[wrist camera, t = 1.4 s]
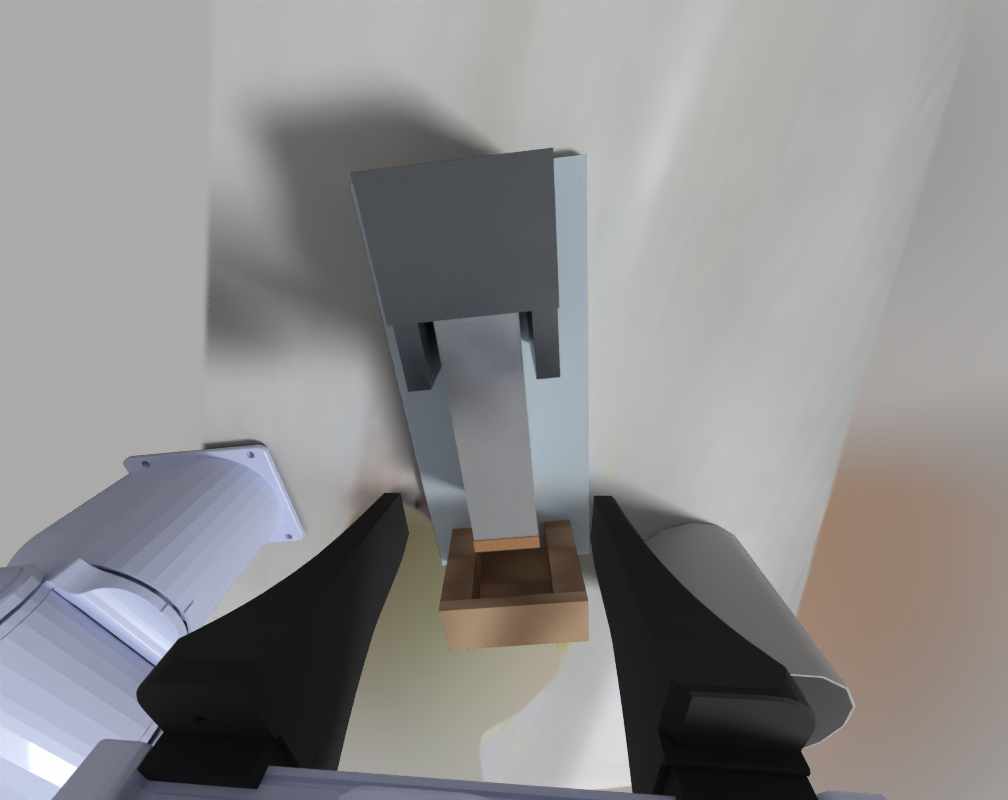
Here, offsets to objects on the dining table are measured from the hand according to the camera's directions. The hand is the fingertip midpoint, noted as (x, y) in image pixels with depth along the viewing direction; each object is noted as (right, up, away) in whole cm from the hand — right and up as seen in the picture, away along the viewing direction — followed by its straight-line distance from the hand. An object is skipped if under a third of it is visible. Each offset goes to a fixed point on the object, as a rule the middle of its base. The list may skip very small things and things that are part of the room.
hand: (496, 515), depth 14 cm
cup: (+14, -8, +15) cm, 22 cm away
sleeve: (-1, +11, +6) cm, 12 cm away
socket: (+1, -6, +14) cm, 15 cm away
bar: (0, +6, +7) cm, 9 cm away
